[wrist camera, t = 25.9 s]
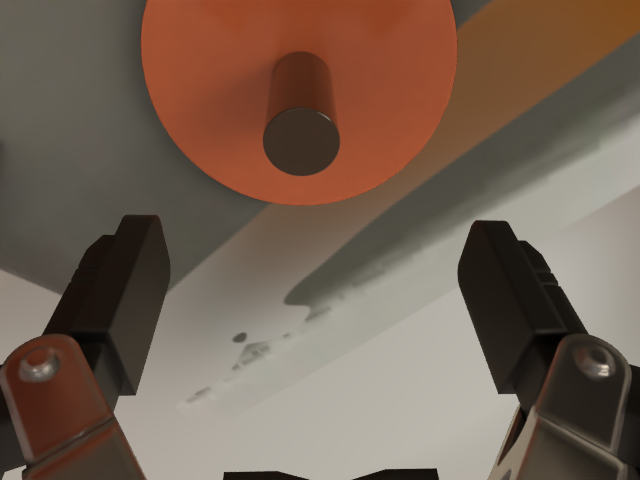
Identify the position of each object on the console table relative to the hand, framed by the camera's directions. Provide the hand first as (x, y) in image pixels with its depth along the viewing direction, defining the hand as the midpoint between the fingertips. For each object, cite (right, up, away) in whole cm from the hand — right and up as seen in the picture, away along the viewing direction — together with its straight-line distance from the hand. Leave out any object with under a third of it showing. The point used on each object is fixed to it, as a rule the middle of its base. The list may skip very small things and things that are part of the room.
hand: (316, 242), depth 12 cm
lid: (-1, +7, +8) cm, 10 cm away
